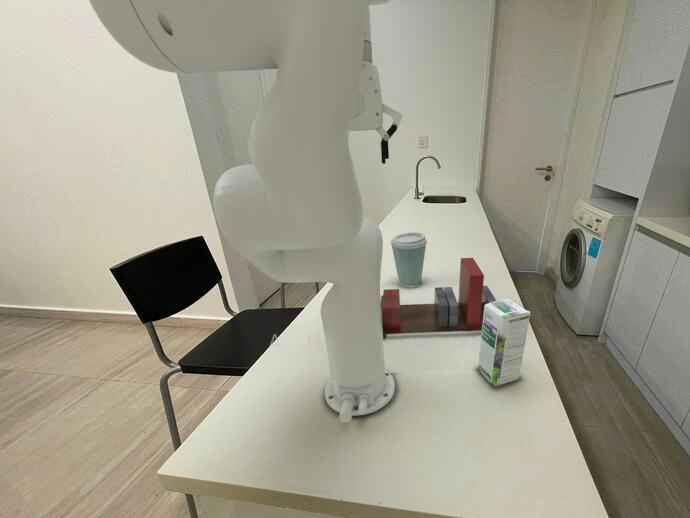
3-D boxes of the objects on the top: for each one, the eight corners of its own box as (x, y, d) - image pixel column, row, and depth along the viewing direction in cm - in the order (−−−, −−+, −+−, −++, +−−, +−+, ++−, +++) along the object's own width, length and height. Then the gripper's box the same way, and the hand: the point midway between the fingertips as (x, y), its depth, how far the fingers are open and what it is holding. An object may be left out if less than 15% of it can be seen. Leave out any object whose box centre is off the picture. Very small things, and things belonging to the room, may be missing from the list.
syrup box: (476, 369, 64) (482, 303, 58) (501, 361, 66) (510, 297, 60) (494, 388, 60) (502, 318, 53) (520, 379, 62) (532, 310, 55)
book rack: (502, 333, 75) (505, 307, 72) (380, 338, 75) (378, 312, 72) (487, 304, 88) (489, 282, 85) (382, 308, 88) (380, 286, 85)
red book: (479, 327, 76) (484, 275, 70) (466, 327, 76) (470, 275, 70) (469, 304, 86) (473, 257, 80) (458, 305, 86) (460, 258, 80)
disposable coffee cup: (400, 293, 96) (399, 243, 89) (387, 280, 105) (384, 233, 98) (433, 286, 100) (433, 237, 93) (416, 274, 108) (416, 229, 102)
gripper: (295, 55, 54) (311, 167, 62) (401, 51, 54) (404, 164, 62) (305, 63, 61) (319, 164, 68) (399, 60, 61) (402, 161, 69)
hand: (359, 164), depth 65 cm, fingers open, 9 cm apart
